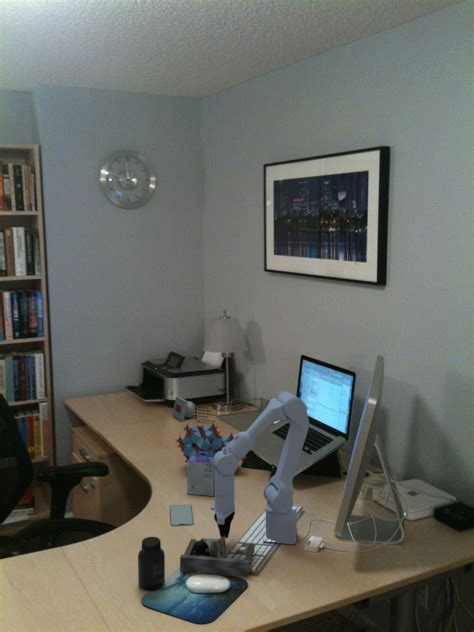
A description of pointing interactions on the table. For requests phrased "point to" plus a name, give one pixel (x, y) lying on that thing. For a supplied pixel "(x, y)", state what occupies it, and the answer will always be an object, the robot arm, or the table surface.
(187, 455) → the molecule model
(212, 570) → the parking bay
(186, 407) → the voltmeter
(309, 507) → the table surface
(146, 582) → the supplement bottle
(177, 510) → the smartphone
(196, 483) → the ink cartridge box
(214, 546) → the caster wheel
